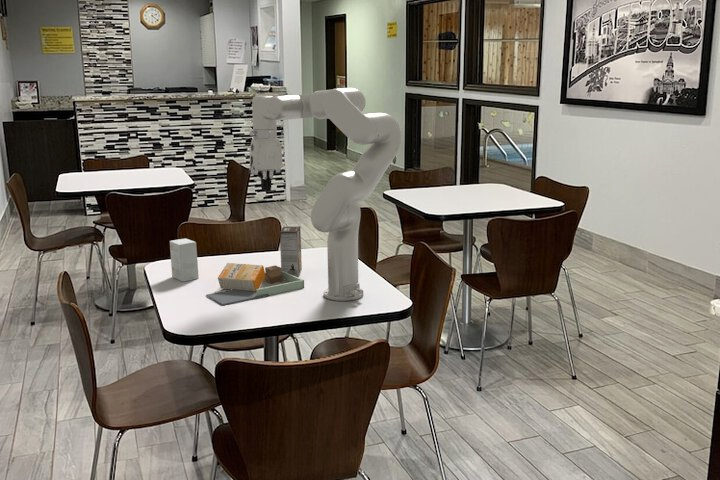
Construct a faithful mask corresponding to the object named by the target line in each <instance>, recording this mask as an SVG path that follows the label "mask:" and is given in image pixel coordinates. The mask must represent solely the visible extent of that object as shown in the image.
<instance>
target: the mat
mask: <svg viewBox="0 0 720 480" xmlns="http://www.w3.org/2000/svg"><path fill="white" fill-rule="evenodd" d="M205 296H206V297H207V298H209V299H210V300H212V301H214V302H215V303H217V304H219V305H220V306H227V305H232V304H236V303H237V304H238V303H243V302H248V301H251V300H252V301H253V300H257V299H260V298H265V297H269V296H270V295H269V294H264V295H259V296H257V293H256V291H246V290H234V289H226V290H223V291H217V292H212V293H209V294H205Z"/></svg>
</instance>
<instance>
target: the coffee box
mask: <svg viewBox="0 0 720 480" xmlns="http://www.w3.org/2000/svg"><path fill="white" fill-rule="evenodd" d="M301 232H302V231H301V226H298V225H297V226H282V228H281V230H280V231H279V243H280V244H279V245H280V246H279V248H280V267H281V270H282V271H284V272H286V273H288V274H291V275H293V276H295V277H298V278H300V275H301V273H302V269H303V265H302V264H303V262H302V238H301V237H302V236H301V235H302V234H301Z"/></svg>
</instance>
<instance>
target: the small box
mask: <svg viewBox="0 0 720 480" xmlns="http://www.w3.org/2000/svg"><path fill="white" fill-rule="evenodd" d="M169 250H170V252H169V253H170V266H171V278H174V279H176V280H178V281H180V282H182V283H183V282H187V281H192V280H196V279H199V265H198V251H197V250H198V249H197V242H196V241H194V240H191V239H189V238H186V237H185V238H180V239H179V238H178V239H174V240H169Z"/></svg>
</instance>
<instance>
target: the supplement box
mask: <svg viewBox="0 0 720 480" xmlns="http://www.w3.org/2000/svg"><path fill="white" fill-rule="evenodd" d="M265 276H266V275H265V266H264V265H261V264H247V263H233V262H227V263H226V264H225V265H224V267H223V269H222V270H221V272H220V273H219V275H218V277H217V280H218V284H219V288H220V289H223V290H224V289H225V290H232V289H234V290H246V291H256V289H260V287H261V285H262V283H263V282H264V281H263V280H264V278H265Z"/></svg>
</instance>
